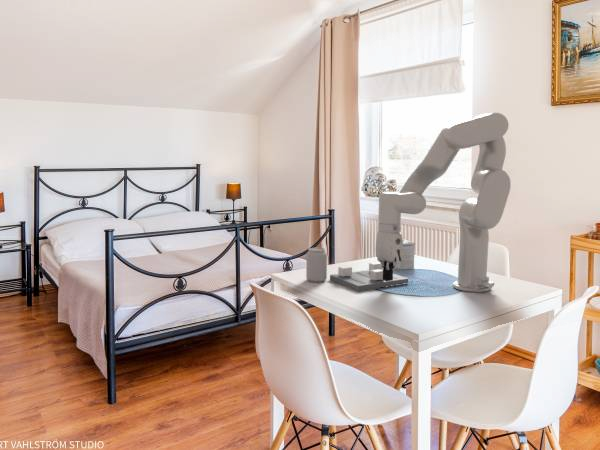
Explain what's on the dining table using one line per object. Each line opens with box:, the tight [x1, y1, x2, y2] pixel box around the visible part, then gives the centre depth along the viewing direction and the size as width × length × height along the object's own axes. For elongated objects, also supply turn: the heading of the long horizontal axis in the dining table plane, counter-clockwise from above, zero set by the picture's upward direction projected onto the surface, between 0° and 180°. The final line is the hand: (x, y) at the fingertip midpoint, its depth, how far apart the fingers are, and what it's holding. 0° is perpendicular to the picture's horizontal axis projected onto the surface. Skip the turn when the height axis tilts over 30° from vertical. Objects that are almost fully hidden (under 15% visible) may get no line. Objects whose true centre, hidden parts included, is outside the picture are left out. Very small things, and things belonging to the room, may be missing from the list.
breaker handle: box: [370, 269, 383, 280], centre depth 186 cm, size 3×4×3 cm
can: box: [305, 247, 328, 283], centre depth 192 cm, size 8×8×12 cm
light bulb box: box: [390, 238, 416, 270], centre depth 217 cm, size 11×7×11 cm, turn 17°
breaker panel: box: [329, 261, 409, 293], centre depth 191 cm, size 18×22×5 cm
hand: (387, 280), depth 181 cm, fingers closed
